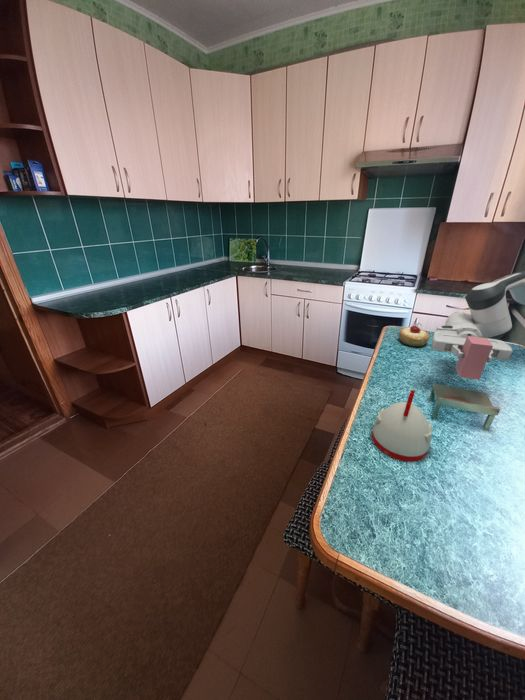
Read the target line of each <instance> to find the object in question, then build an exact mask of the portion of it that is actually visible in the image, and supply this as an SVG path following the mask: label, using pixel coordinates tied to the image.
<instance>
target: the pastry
mask: <svg viewBox="0 0 525 700" xmlns="http://www.w3.org/2000/svg"><path fill="white" fill-rule="evenodd" d="M419 325H420V327H423V325H422V324H421V322H418V323H417V325H412V326H409V327H408V326H405V327H402V328H400V329H399V331H398V337H399V340H400V342H401V343H402V344H404V345H406V346H409V347H416V348H419V347H423V346H425V345H426V344H427V343H428V342H429V340H430V337H431V336H430V334H429V332H428V331H426V330H423V329H422V328H420V327H419Z"/></svg>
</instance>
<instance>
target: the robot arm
mask: <svg viewBox="0 0 525 700" xmlns="http://www.w3.org/2000/svg"><path fill="white" fill-rule="evenodd" d="M507 291H509V293H510V295H511V298H512V299H513V300H514V301H515V302H516V303H518V304H520V305H523V306H525V270H523V271H517V272H512V273H510V274H508V275H505V276H502V277H499V278H497V279H494V280H493V281H492V280H491V281H489V282H486V283H481V284H478V285H476V286H473V287H472V288H470V289H469V291H468V293H467V294H466V296H465V301H466V303H467V306H468V308H469V311H470V314H468V313H466V312H464V311H456V312H452V313H451V314H449V316H448V317H447V318H446V319H445V322H444V325H438V326H437V327H436V329H435V331H434V333H433V337H432V340H431V342H430V349H431V350H433V351H434V352H435V351H436V352H443V353H449V354H452V355H455V357H456V358H457V359H459V358H464V355H465V353H464V351H462V349H463V346H464V343H465V340H466V338H467V336H471V337H479V338H487V339H488V340H489V341H490V343H491V344H492V345H493V347H492V350H491V352H490V355H489V357H488V359H487V362H486V363H491V361H492V360H498V361H499V360H500V361H508V360H510V359H511V357H512V354H513V348H512V347H511V346H510V345H509V344H508V343H507V342H506V341H503V340H502V339H501V338H503V337H505V335H507V334H508V333H510V331H512V329H513V324H512V323H513V322H512V318H511V314H510V310H509V307H508V302H507Z"/></svg>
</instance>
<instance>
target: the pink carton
mask: <svg viewBox="0 0 525 700" xmlns="http://www.w3.org/2000/svg"><path fill="white" fill-rule="evenodd" d="M492 347H493V345H492V344H491V343H490V341H489V340H488V339H487V338H479V337H471V336H467V338H466V340H465V343H464V346H463V349H462V351H464V353H465V355H464V358H458V360H457V363H456V365H455V368H454V369H455V371H456V373H457V375H458V377H459V378H464V379H469V380H470V379H471V380H475V381H476V380H477V381H478V380H479V381H480V379H481V377H482V374H483V371H484V369H485V366H486V364H487V363H488V362H487V359H488V357H489V355H490V352H491V350H492Z"/></svg>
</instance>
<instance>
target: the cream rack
mask: <svg viewBox="0 0 525 700" xmlns="http://www.w3.org/2000/svg"><path fill="white" fill-rule="evenodd" d="M429 393H430V394H429V397H428V401H429V402H434V401H435V405H434V407H433V410H432V414H431V418H432V419H435V420H437V419H438V416H439V413H440V410H441V407H446V408H451V409H456V410H463V411H467V412H472V413H478V414H481V415H482V414H483V415H487V416H486V418H485V420H484V422H483V425H482V429H483V430H486V431H489V430H490V428H491V427H492V424H493V422H494V420H495V417H496V416H498V415H499V414H500V411H501V409H500V407H498V406H494V405H493V403H492V401H491V399H490V397H489V395H488V393H487V392H485V391H478V390H473V389H468V388H463V387H455V386H451V385H446V384H445V385H444V384H439V383H432V387H431V389H430V392H429Z"/></svg>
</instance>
